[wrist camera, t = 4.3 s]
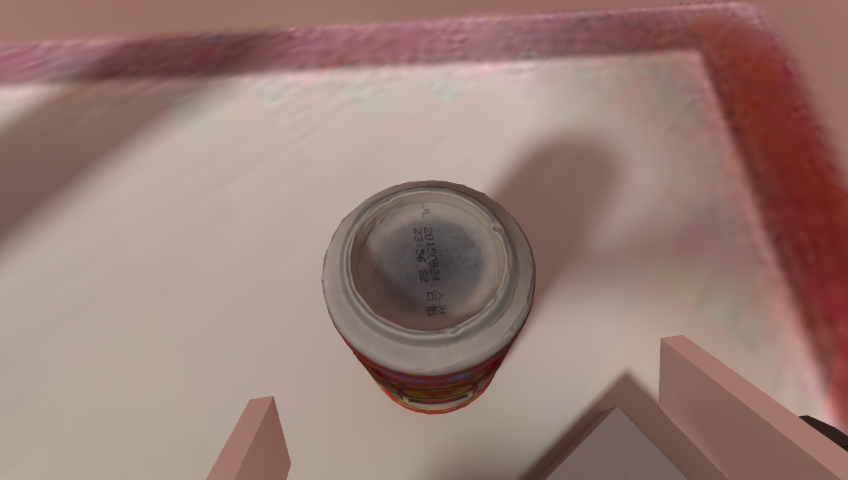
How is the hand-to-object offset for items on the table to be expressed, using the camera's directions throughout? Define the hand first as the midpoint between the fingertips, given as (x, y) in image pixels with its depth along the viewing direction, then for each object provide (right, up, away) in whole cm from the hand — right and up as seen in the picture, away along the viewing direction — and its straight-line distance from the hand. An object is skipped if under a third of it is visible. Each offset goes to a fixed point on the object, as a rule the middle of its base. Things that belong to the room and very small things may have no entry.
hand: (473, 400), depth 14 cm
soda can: (-1, -1, +10) cm, 10 cm away
